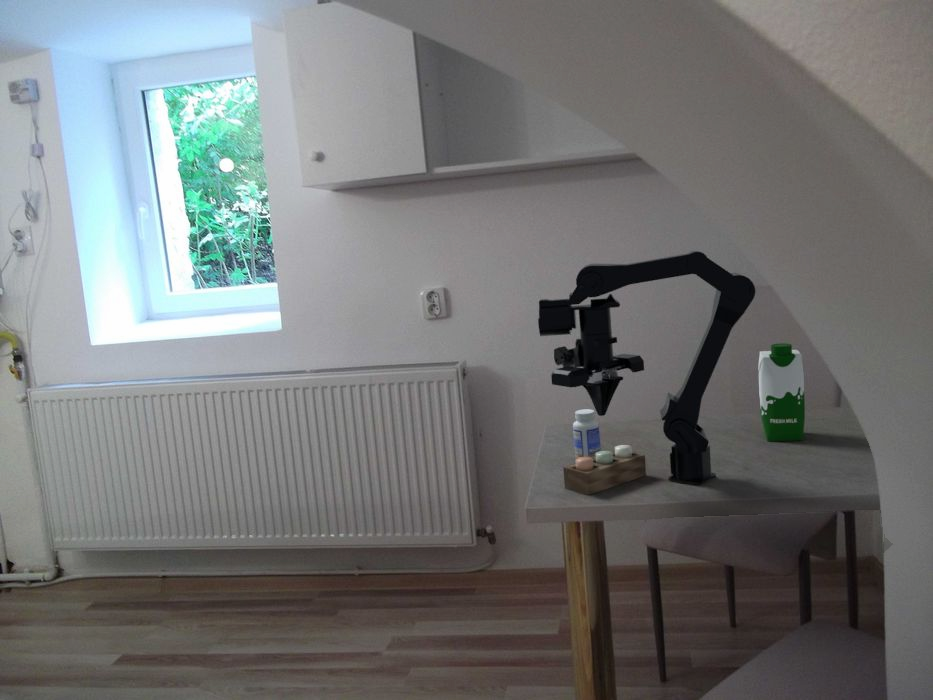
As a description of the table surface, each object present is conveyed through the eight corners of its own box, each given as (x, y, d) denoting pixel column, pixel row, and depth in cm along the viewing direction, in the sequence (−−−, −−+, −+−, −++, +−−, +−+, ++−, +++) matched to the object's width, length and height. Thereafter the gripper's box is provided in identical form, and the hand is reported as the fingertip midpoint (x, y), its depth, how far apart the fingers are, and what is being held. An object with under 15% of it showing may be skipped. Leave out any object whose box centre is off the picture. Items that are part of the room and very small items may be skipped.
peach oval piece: (585, 467, 157) (584, 456, 157) (597, 470, 155) (596, 459, 154) (572, 471, 156) (571, 460, 155) (584, 474, 153) (583, 463, 153)
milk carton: (763, 442, 175) (759, 347, 172) (759, 431, 183) (755, 341, 180) (808, 441, 172) (805, 345, 169) (802, 430, 181) (799, 338, 178)
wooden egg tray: (621, 469, 165) (620, 449, 165) (646, 475, 160) (644, 454, 160) (564, 487, 157) (563, 467, 156) (588, 495, 152) (587, 473, 151)
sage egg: (604, 461, 160) (604, 450, 160) (616, 464, 158) (616, 452, 157) (592, 465, 158) (591, 453, 158) (604, 468, 156) (603, 456, 156)
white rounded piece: (623, 455, 163) (623, 444, 163) (635, 457, 161) (635, 446, 160) (611, 458, 161) (611, 447, 161) (624, 461, 159) (623, 450, 158)
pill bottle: (602, 452, 178) (599, 407, 176) (599, 460, 173) (596, 414, 171) (577, 453, 179) (573, 408, 178) (573, 460, 174) (570, 414, 173)
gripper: (601, 323, 166) (606, 400, 168) (528, 337, 156) (535, 419, 158) (643, 326, 157) (648, 407, 159) (569, 341, 147) (575, 428, 149)
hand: (601, 415), depth 157 cm, fingers closed
